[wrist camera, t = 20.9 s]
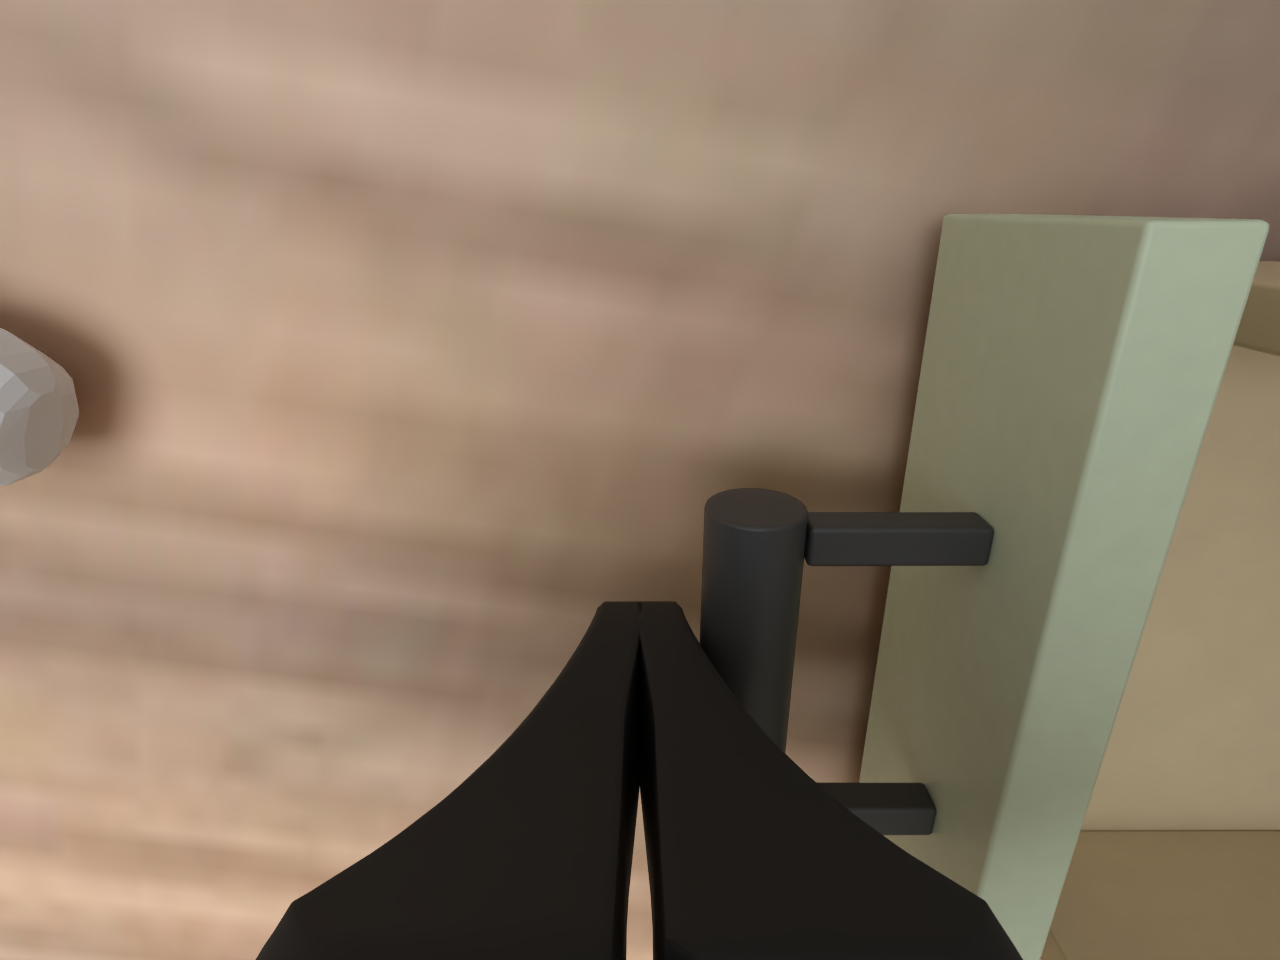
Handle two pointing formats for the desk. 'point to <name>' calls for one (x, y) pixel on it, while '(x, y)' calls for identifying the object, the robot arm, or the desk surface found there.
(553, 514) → the desk surface
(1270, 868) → the drawer
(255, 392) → the desk surface
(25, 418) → the artist's mannequin
